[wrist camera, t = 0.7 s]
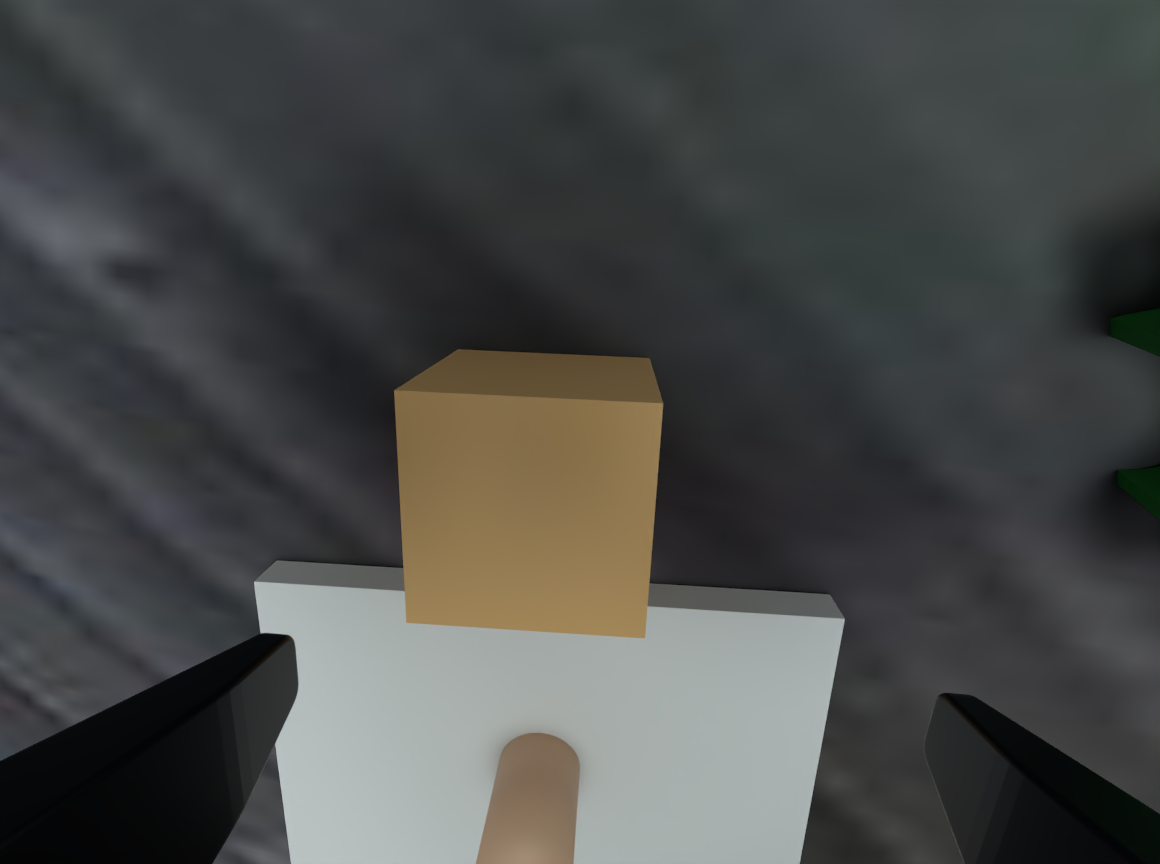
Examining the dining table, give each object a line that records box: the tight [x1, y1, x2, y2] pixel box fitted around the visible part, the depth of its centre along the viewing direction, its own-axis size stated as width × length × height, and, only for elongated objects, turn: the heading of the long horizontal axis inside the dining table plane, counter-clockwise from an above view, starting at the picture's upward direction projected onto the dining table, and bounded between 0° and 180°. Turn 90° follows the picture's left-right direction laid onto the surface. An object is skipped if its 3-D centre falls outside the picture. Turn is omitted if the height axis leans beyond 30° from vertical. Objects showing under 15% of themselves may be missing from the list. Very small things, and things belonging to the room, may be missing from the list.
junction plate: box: [254, 560, 845, 864], centre depth 22 cm, size 14×20×6 cm
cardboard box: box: [394, 349, 663, 638], centre depth 18 cm, size 6×6×6 cm
